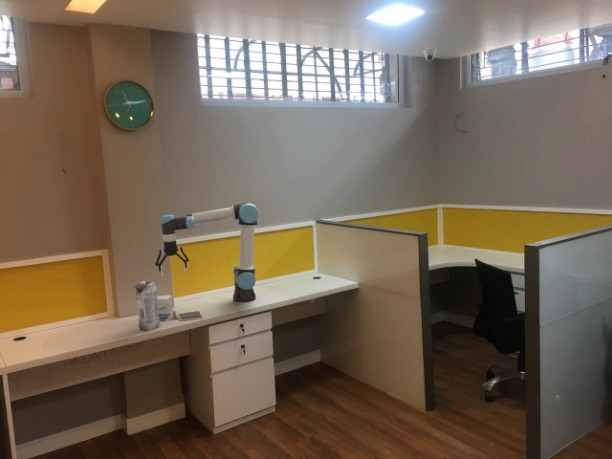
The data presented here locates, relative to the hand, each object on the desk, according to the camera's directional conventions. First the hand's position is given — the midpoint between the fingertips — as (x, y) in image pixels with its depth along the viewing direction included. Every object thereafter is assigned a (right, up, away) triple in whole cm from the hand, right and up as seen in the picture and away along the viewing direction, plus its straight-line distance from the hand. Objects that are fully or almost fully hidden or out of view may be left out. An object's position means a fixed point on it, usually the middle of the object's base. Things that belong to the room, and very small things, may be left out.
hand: (173, 274), depth 327 cm
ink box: (-4, -24, -6) cm, 26 cm away
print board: (-4, -25, -6) cm, 26 cm away
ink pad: (+12, -25, -7) cm, 28 cm away
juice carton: (-7, -28, -25) cm, 38 cm away
